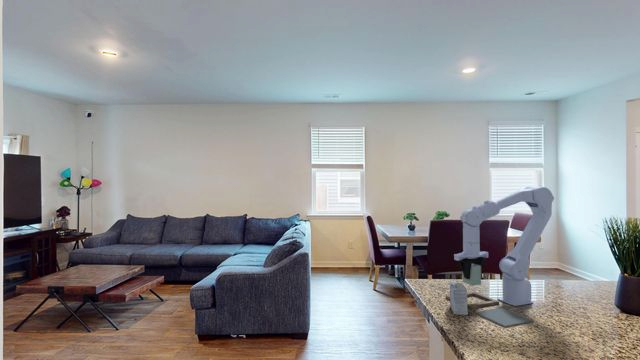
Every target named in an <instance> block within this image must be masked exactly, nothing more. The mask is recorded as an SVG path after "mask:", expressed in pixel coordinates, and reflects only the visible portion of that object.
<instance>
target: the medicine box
mask: <svg viewBox="0 0 640 360" xmlns="http://www.w3.org/2000/svg"><path fill="white" fill-rule="evenodd" d="M467 293H468V290H467V288H466V287H465V285H464V284H463V282H461V283H460V282H450V283H449V295H450V300H449V304H450V306H449V307H450V308H451V311H452V312H453V314H454V315H457V316H458V315H460V316H468V314H469V313H468V311H469V309H468V308H467V304H468V297H467Z"/></svg>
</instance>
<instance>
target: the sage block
mask: <svg viewBox="0 0 640 360" xmlns="http://www.w3.org/2000/svg"><path fill="white" fill-rule="evenodd" d="M461 271H462V270H461ZM462 283H464V284H467V285H470V286H480V285H482V269H481V265H477V264H474V263H472V265H471V269H470V279H466V278H464V275H463V271H462Z"/></svg>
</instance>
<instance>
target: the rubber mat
mask: <svg viewBox="0 0 640 360" xmlns="http://www.w3.org/2000/svg"><path fill="white" fill-rule="evenodd" d="M474 313H475V315H477V316H479V317H482V318H483V319H487V320H488V321H491V322H492V323H494V324H497V325H498V326H500V327H503V328H510V327H515V326H520V325H524V324H530V323H534V320H533V319H532V318H528V317H526V316H524V315H521V314H520V313H517V312H514V311H511V310H509V309H507V308H504V307H497V308H491V309H486V310H480V311H475V312H474Z"/></svg>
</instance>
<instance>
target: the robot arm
mask: <svg viewBox="0 0 640 360" xmlns="http://www.w3.org/2000/svg"><path fill="white" fill-rule="evenodd" d="M554 199H555V197H554V195H553V193H552V191H551V190H550V189H549V188H548V187H544V186H541V187H537V186H536V187H535V186H526V187H525V188H521V189H519V190H517V191H514V192H513V193H510V194H509V195H507V196H505V197H503V198H500V199H499V200H496V201H494V200H484V201H483V203H482V204H479V205H477V206H475V205H474V206H472V207H471V208H472V209H465V210H464V211H463V212H462V213H461V216H460V217H459V219H460V220H461V222H462V250H463V251H462V252H459V253H454V254H453V257H454V258H453V260H455V261H457V262H458V264H459V266H460V268H461V271H463V273H462V276H463V275H464V278H466V279H470V269H471V265H472V263H474V264H477V265H481V270H482V269H483V267H484V265H485V264H486V262H487V261H486V260H487V258H489V252H488V251H481V249H480V248H481V246H480V241H481V240H480V234H481V233H480V232H481V231H480V225H481V224H482V222H484V221H487V220H488V219H491V218H493V217H495V216H497V215H499V214H500V212H501V210H503V209H506V208H508V207H510V206H513V205H516V204H518V203H521V202H524V203H525V204H526V205H527V206H528V207H529V208H530V210H531V213H532V215H531V217H530V218H529V220H528V222H527V223H526V225H525V228H524V229H523V232H522V233H521V234H520V237H519V239H518V240H517V242H516V244H515V246H514V248H513V250H510V251H509V252H507V254H506V256H505V257H503V258H501V260H500V261H499V265H498V266H499V267H498V268H499V269H500V271H501V272H502V274H501V275H502V277H501V278H502V279H501V280H502V296H501V297H497V298H496V300H497V301H499V302H500V301H501V302H504V303H506V304H507V305H508V304H509V305H511V306H513V307H519V306H524V305H529V304H534V301H533V300H532V283H531V282H530V281H531V280H529V278H527V276H528V275H529V267H530V266H531V262H530V258H529V257H530V256H531V254H532V252H533V250H534V248H535V246H536V245H537V244H538V241H539V239H540V238H541V235H542V233H543V232H544V230H545V228H546V226H547V225H548V224H549V223H548V222H549V221H550V219H551V217H552V214H553V213H552V211H553V202H554Z"/></svg>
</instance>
